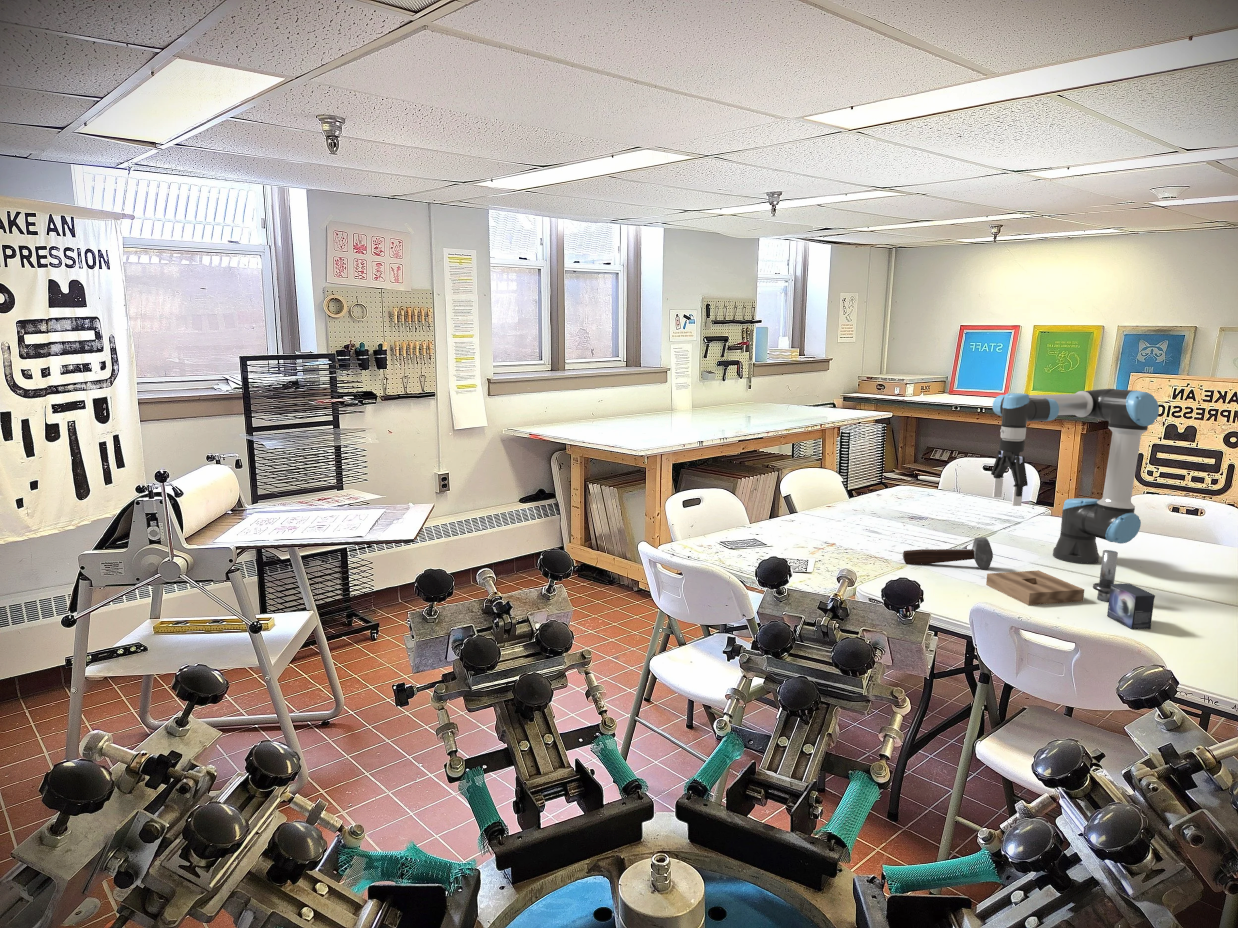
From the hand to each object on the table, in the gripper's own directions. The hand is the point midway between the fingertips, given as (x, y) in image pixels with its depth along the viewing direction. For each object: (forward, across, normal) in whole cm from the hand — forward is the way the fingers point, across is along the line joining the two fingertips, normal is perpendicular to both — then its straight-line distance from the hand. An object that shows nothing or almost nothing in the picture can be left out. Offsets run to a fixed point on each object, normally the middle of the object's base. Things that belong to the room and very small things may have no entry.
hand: (1006, 501), depth 263 cm
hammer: (+28, -15, -12) cm, 34 cm away
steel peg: (+28, +20, +24) cm, 42 cm away
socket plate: (+28, +14, +4) cm, 31 cm away
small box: (+28, +40, +19) cm, 52 cm away
